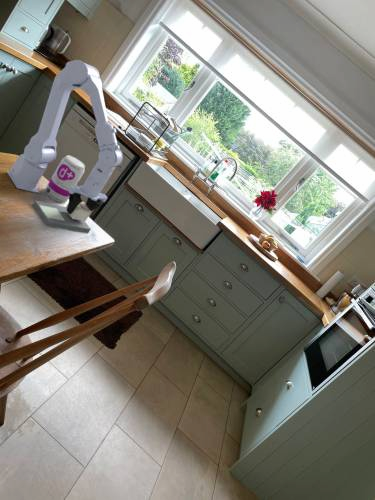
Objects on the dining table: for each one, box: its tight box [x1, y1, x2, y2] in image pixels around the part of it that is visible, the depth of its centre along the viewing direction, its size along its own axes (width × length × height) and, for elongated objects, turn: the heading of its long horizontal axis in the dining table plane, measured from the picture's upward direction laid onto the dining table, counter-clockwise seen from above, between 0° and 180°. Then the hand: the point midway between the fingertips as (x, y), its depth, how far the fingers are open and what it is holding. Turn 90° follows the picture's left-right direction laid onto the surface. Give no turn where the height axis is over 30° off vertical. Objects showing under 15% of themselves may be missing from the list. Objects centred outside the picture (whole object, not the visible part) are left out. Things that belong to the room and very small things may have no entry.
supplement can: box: [45, 154, 86, 203], centre depth 133 cm, size 8×8×15 cm
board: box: [32, 200, 91, 234], centre depth 124 cm, size 11×16×2 cm
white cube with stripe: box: [65, 201, 92, 222], centre depth 126 cm, size 5×5×4 cm
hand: (75, 213), depth 127 cm, fingers closed on white cube with stripe, 5 cm apart
